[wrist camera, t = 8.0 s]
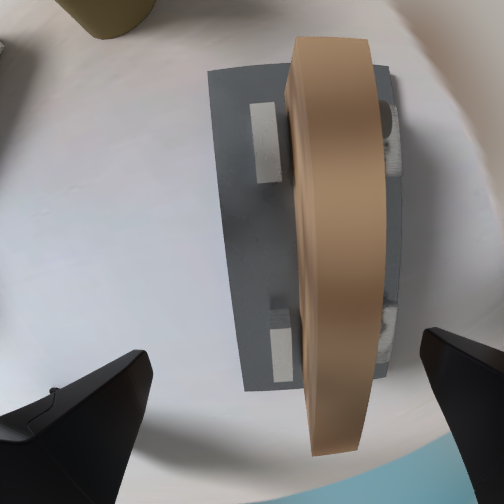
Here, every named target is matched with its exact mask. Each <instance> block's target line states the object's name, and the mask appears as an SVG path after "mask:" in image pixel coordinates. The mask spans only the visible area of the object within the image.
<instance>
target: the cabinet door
mask: <svg viewBox="0 0 504 504" xmlns="http://www.w3.org/2000/svg"><path fill="white" fill-rule="evenodd" d="M284 95H285V104H286V113H287V123H288V133H289V143H290V154H291V165H292V177H293V190H294V203H295V218H296V234H297V252H298V272H299V296H300V330H301V371H302V378H303V386H304V393H305V401H306V409H307V417H308V425H309V434H310V442H311V451H312V456H321V455H329V454H336V453H343V452H349V451H355V450H357V449H358V445H359V441H360V438H361V433H362V429H363V425H364V421H365V416H366V412H367V407H368V402H369V397H370V392H371V387H372V381H373V375H374V369H375V363H376V356H377V349H378V342H379V334H380V325H381V316H382V306H383V294H384V280H385V261H386V182H385V163H384V149H383V138H388V137H389V136H390V134H391V131H392V113H391V109H390V106H389V104H388V103H387V102H386V101H385V100H378V95H377V88H376V82H375V76H374V70H373V64H372V59H371V54H370V49H369V44H368V40H366V39H354V38H338V37H296V41H295V46H294V51H293V55H292V60H291V64H290V69H289V74H288V78H287V83H286V87H285V92H284Z"/></svg>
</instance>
